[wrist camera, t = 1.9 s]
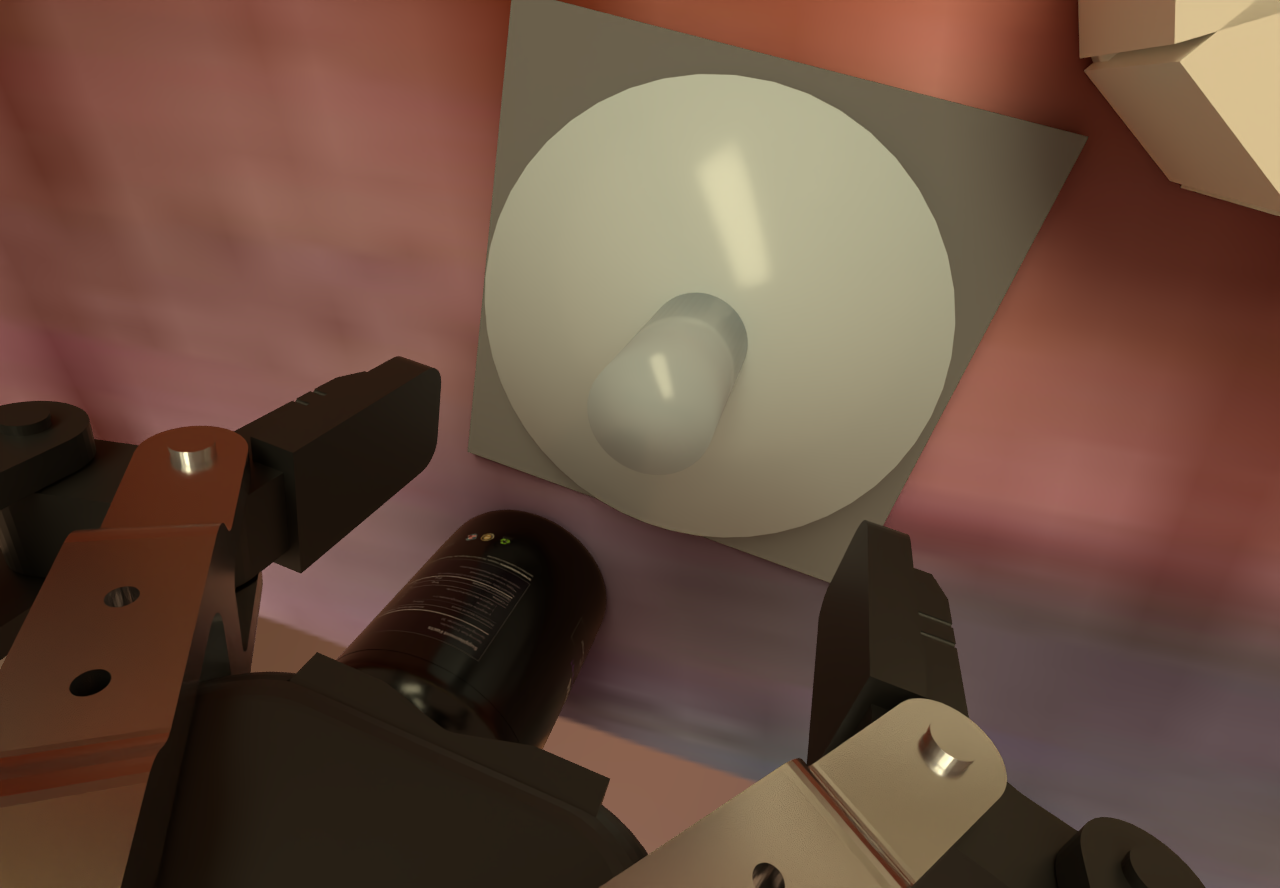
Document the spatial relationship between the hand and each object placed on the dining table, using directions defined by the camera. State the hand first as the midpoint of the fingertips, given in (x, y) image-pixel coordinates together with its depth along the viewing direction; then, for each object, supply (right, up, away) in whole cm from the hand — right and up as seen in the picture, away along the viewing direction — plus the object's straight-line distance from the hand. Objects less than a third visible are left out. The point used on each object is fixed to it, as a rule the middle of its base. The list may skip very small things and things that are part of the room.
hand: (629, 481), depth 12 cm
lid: (+2, +4, +7) cm, 8 cm away
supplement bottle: (-4, -4, +14) cm, 16 cm away
